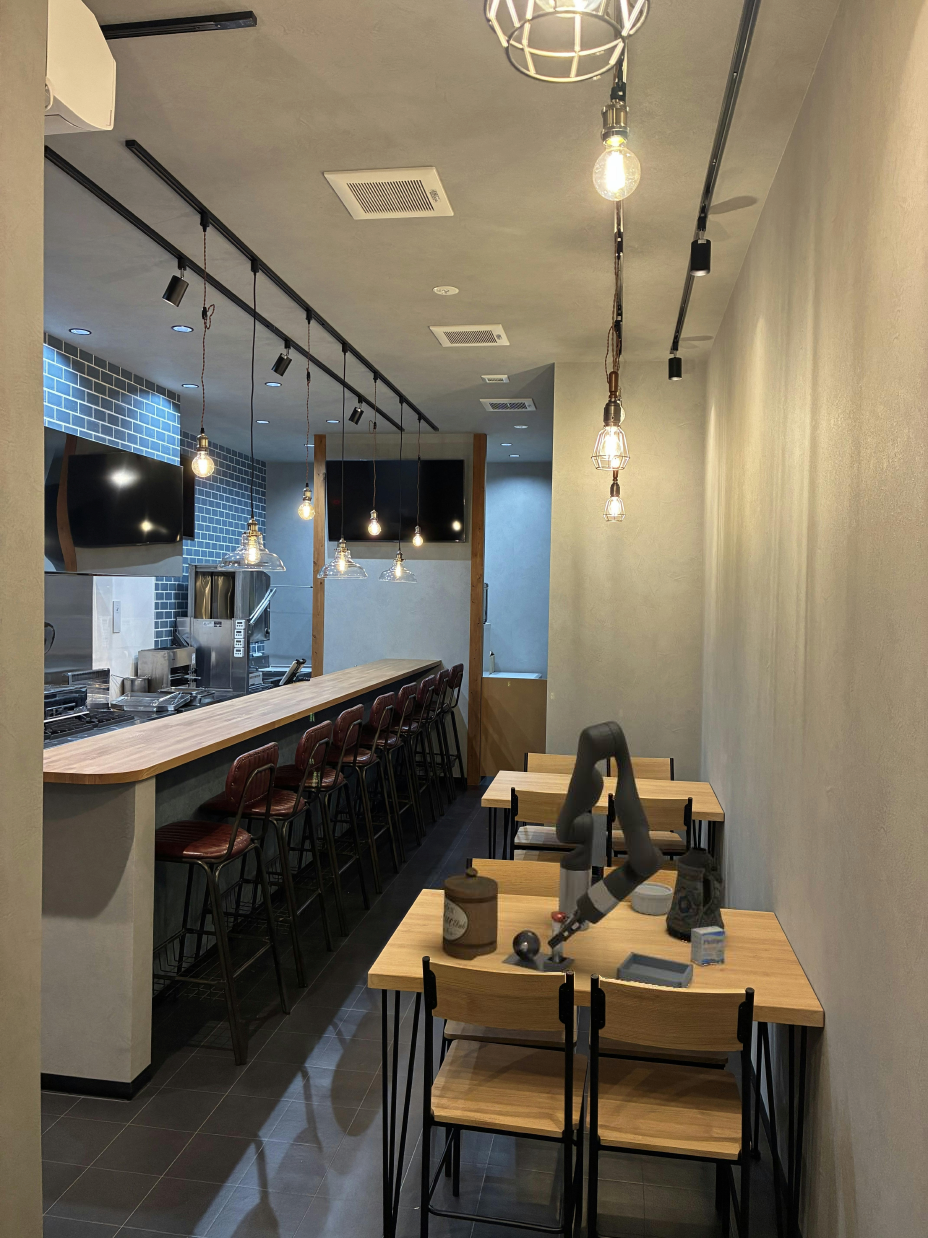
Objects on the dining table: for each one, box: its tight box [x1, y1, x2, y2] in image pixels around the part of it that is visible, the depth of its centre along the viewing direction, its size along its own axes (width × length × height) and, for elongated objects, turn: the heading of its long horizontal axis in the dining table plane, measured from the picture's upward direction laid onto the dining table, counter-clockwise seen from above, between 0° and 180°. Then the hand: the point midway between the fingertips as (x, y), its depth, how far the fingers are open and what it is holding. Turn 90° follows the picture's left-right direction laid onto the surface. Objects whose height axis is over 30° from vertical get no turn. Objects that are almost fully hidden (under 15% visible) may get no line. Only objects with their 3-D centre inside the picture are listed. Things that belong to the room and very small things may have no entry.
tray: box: [616, 951, 694, 989], centre depth 218 cm, size 13×16×4 cm
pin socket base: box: [501, 929, 576, 973], centre depth 226 cm, size 12×16×8 cm
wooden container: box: [442, 866, 499, 961], centre depth 235 cm, size 15×15×22 cm
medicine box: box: [690, 926, 726, 966], centre depth 232 cm, size 8×4×9 cm, turn 114°
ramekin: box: [630, 881, 674, 916], centre depth 273 cm, size 13×13×7 cm
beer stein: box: [665, 846, 726, 943], centre depth 252 cm, size 16×19×25 cm
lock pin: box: [550, 910, 566, 964], centre depth 224 cm, size 4×4×13 cm
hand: (552, 940), depth 224 cm, fingers open, 8 cm apart
